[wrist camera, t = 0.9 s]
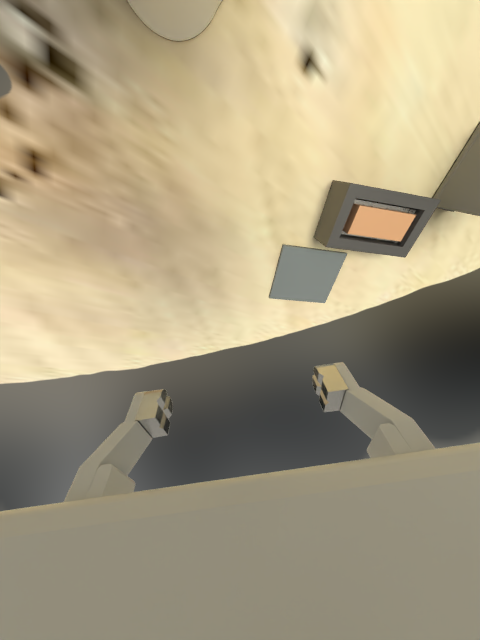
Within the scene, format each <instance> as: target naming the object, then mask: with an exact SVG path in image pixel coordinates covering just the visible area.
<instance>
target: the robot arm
mask: <svg viewBox="0 0 480 640" xmlns="http://www.w3.org/2000/svg"><path fill="white" fill-rule="evenodd" d="M127 1H128V3H129V4H130V6H131V7H132V9H133V10H134V12H135V13H136V14H137V16H138V17H139V18H140V19H141V20H142V21H143V23H144V24H145V25H146V26H148V27H149V28H150V29H151V30H152V31H154V32H155V33H157V34H158V35H160V36H162V37H164V38H166V39H170V40H174V41H183V40H188V39H191V38H193V37H195V36H197V35H198V34H200V33H201V32H202V31H203V30H204V29H205V28H206V27H207V26H208V24H209V23H210V21H211V20H212V18H213V17H214V15H215V13H216V11H217V9H218V7H219V5H220V3H221V1H222V0H127ZM313 372H314V375H313V376H312V382H313V387H314V390H315V393H316V394H318V395H319V396H320V398H319V402H320V404H321V407H322V409H323V411H324V412H331V411H339V410H340V412H342V413H343V414H344V415H345V416H346V417H347V418H348V419H350V420H351V421H352V422H353V423H354V424H355V425H356V426H357V427H359V428H360V429H361V430H362V431H363V432H364V433H365V434H367V435H368V436H369V437H370V438H371V439H372V441H371V443H370V444H369V446H368V448H367V452H368V454H369V456H370V459H362V460H356V461H348V462H341V463H334V464H327V465H320V466H313V467H307V468H299V469H293V470H285V471H278V472H272V473H264V474H257V475H251V476H243V477H236V478H229V479H222V480H216V481H208V482H202V483H194V484H187V485H181V486H174V487H167V488H160V489H153V490H147V491H139V492H133V491H134V487H135V482H134V481H133V480H132V479H130V478H129V477H128V476H127V475H128V474H129V473H130V471H131V470H132V468H133V467H134V465H135V464H136V462H137V461H138V459H139V458H140V456H141V455H142V453H143V452H144V450H145V449H146V447H147V446H148V445H149V443H150V442H151V440H152V438H154V437H160V436H166V435H168V432H169V426H170V421H169V420H168V419H169V417H170V416H171V415H172V410H173V405H172V400H171V398H170V397H168V396H167V391H166V390H165V389H163V390H155V391H147V392H140V393H136V394H135V395H134V397H133V400H132V403H131V406H130V408H129V411H128V414H127V417H126V419H125V422H124V423H121V424H120V425H119V426H118V428H117V429H115V431H114V432H113V433H112V434H111V435H110V436H109V437H108V438H107V439H106V440H105V441H104V442H103V443H102V444H101V445H100V446H99V447H98V449H96V450H95V452H94V453H93V454H92V455H91V456H90V457H89V458H88V459H87V460H86V461H85V462H84V463H83V464H82V465H81V466H80V467H79V470H78V472H77V474H76V476H75V479H74V480H73V483H72V485H71V487H70V489H69V491H68V493H67V496H66V498H65V500H64V502H62V503H56V504H48V505H41V506H34V507H28V508H21V509H15V510H7V511H0V640H480V443H474V444H467V445H460V446H453V447H447V448H439V449H435V447H434V446H433V445H432V443H431V442H430V441H429V440H428V438H427V437H426V436H425V435H424V433H423V432H422V430H421V429H420V428H419V427H418V425H417V424H416V422H415V421H414V420H413V419H412V418H411V417H409V416H407V415H406V414H404V413H403V412H401V411H399V410H398V409H396V408H395V407H393V406H391V405H390V404H388V403H387V402H385V401H383V400H382V399H380V398H379V397H377V396H375V395H374V394H372V393H371V392H369V391H367V390H366V389H364V388H360V387H359V386H358V384H357V383H356V381H355V379H354V378H353V376H352V375H351V373H350V371H349V370H348V368H347V367H346V365H345V364H344V363H343V362H341V363H334V364H326V365H320V366H315V367H314V368H313Z"/></svg>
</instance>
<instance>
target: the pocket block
mask: <svg viewBox="0 0 480 640" xmlns="http://www.w3.org/2000/svg"><path fill="white" fill-rule="evenodd" d="M356 198H358V199H364V200H369V201H375V202H381V203H387V204H392V205H398V206H399V207H403V208H408V209H413V210H416V211H415V213H414V215H416V216H415V218H414V220H413V221H412V223H411V225H410V226H409V228H408V230H407V232H406V233H405V235H404V237H403V238H402V240H401V241H398V243H394V242H392V241H393V240H392V241H385V240H378V239H371V238H364V237H357V236H351V235H344V234H341V233H342V230H343V228H344V225H345V223H346V220H347V218H348V216H349V213H350V211H351V208H352V206H353V203H354V201H355V199H356ZM440 201H441V200H438V199H433V198H428V197H422V196H417V195H412V194H406V193H401V192H396V191H390V190H385V189H380V188H374V187H369V186H364V185H358V184H353V183H347V182H341V181H334V180H333V182H332V185H331V188H330V191H329V194H328V197H327V200H326V202H325V205H324V208H323V211H322V214H321V217H320V220H319V223H318V226H317V229H316V232H315V235H314V238H315V239H317V240H318V241H319V242H320V243H322V244H323V245H324V246H326V247H331V248H338V249H346V250H353V251H361V252H368V253H376V254H383V255H391V256H398V257H406V256H407V254H408V252H409V251H410V249H411V248H412V246H413V244H414V243H415V241H416V240H417V238H418V236H419V235H420V233H421V232H422V230H423V228H424V227H425V225H426V224H427V222H428V220H429V219H430V217H431V215H432V214H433V212H434V211H435V209H436V207H437V206H438V204H439V203H440ZM408 212H409V211H408Z"/></svg>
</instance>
